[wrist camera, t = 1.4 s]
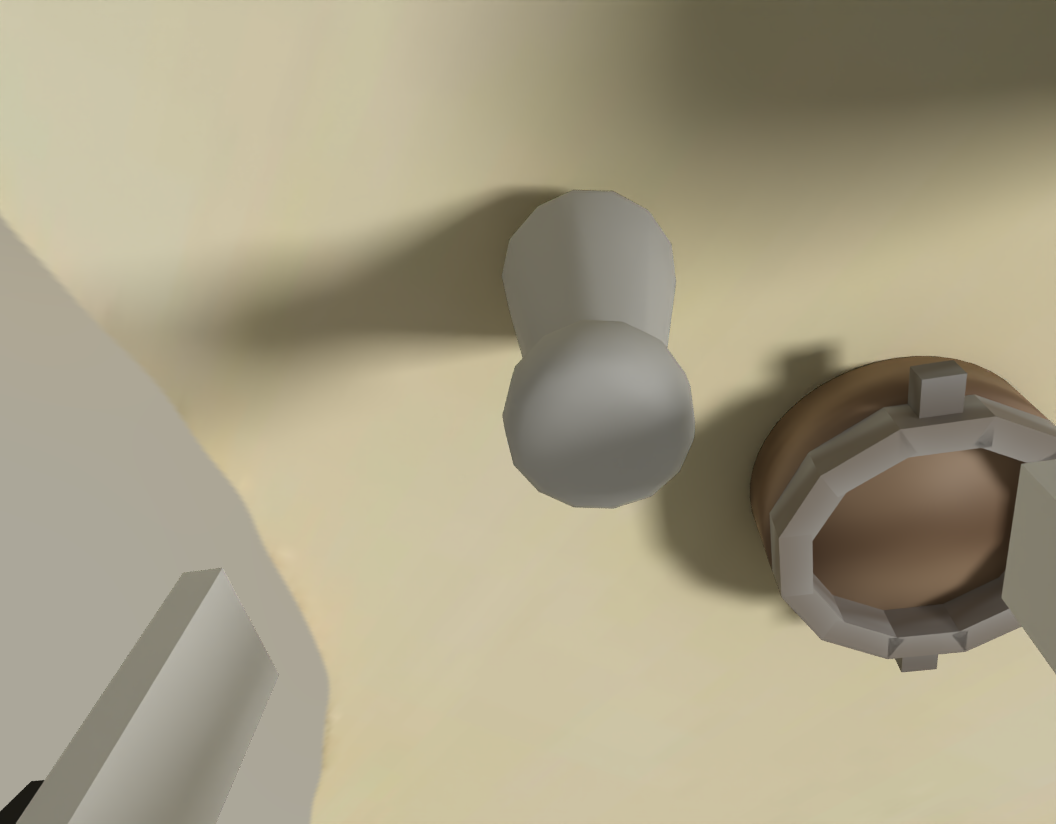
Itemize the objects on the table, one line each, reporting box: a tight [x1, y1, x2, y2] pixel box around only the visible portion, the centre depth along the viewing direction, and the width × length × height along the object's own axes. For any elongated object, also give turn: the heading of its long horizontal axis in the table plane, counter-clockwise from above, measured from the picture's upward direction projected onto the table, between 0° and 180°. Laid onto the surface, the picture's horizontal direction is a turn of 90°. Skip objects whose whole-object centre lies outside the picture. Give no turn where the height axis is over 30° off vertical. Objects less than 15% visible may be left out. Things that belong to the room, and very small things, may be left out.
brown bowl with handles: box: [750, 356, 1056, 672], centre depth 29 cm, size 14×12×4 cm
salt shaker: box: [502, 190, 695, 508], centre depth 21 cm, size 6×6×13 cm
